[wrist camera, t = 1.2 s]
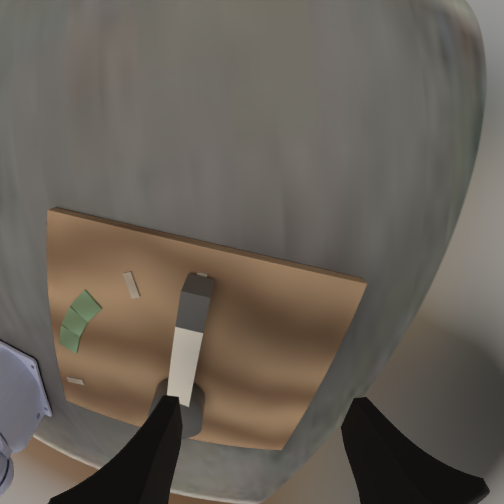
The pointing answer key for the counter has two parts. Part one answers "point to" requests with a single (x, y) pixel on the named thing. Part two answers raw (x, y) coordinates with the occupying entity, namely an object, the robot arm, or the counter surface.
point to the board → (215, 331)
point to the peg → (188, 354)
